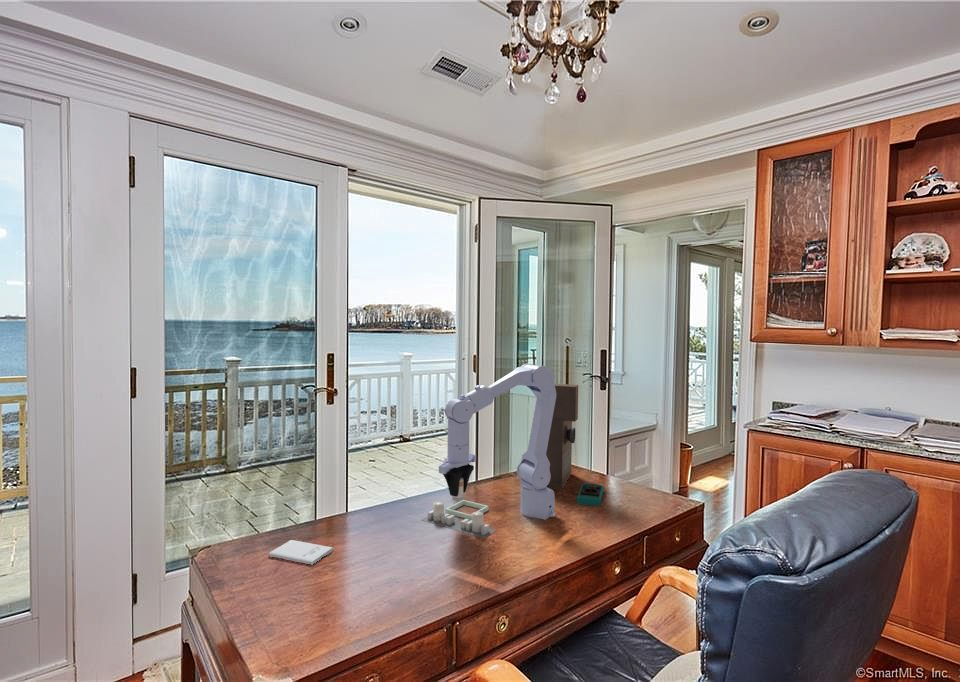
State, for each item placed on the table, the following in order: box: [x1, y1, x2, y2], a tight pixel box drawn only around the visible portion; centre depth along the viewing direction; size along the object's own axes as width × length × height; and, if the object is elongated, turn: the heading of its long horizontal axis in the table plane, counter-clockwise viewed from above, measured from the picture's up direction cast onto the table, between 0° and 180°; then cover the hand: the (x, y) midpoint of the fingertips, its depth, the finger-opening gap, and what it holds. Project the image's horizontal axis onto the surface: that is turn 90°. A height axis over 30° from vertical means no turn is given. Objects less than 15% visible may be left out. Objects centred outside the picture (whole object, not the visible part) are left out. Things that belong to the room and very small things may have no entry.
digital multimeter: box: [576, 482, 605, 507], centre depth 164 cm, size 7×15×3 cm, turn 162°
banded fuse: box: [451, 477, 464, 502], centre depth 138 cm, size 3×3×6 cm
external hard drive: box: [268, 539, 334, 566], centre depth 123 cm, size 2×8×12 cm
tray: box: [444, 499, 489, 521], centre depth 148 cm, size 9×9×2 cm
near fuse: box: [471, 511, 484, 533], centre depth 134 cm, size 3×3×4 cm
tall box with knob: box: [546, 383, 579, 490], centre depth 181 cm, size 19×14×35 cm
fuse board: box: [421, 509, 497, 539], centre depth 138 cm, size 21×6×3 cm, turn 57°
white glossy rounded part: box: [432, 501, 445, 522], centre depth 142 cm, size 3×3×4 cm
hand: (457, 493), depth 138 cm, fingers closed on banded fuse, 3 cm apart
